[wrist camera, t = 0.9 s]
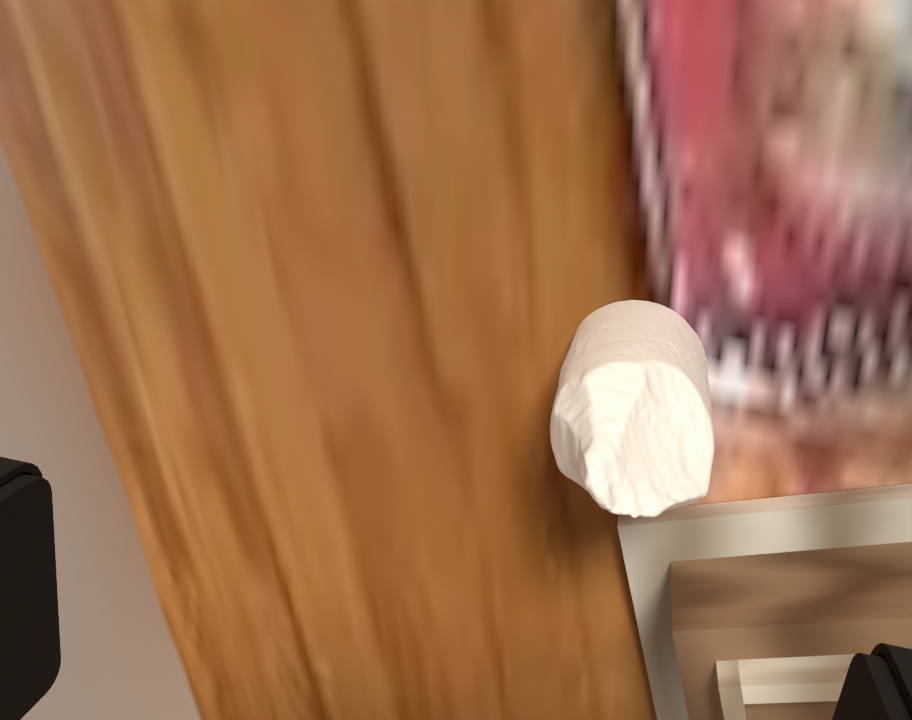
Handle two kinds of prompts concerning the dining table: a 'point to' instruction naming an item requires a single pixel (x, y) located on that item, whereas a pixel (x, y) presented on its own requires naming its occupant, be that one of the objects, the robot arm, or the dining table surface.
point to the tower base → (735, 539)
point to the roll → (635, 410)
